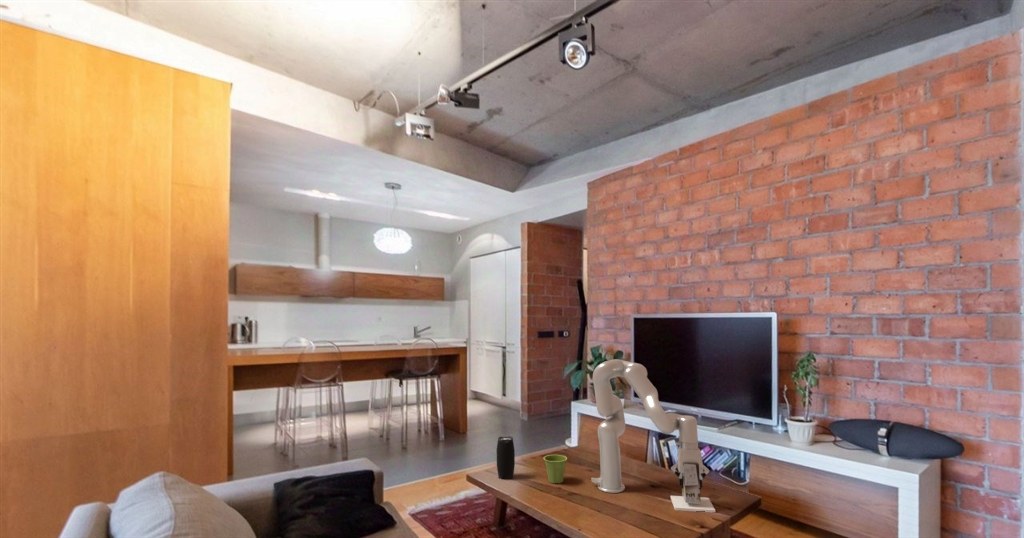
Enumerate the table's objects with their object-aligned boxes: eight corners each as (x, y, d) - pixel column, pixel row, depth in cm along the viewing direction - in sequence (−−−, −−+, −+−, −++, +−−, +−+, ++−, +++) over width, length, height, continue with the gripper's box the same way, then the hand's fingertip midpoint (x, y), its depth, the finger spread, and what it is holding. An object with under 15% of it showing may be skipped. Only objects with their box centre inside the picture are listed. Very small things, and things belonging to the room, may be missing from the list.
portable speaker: (493, 476, 235) (493, 437, 237) (509, 472, 240) (508, 434, 242) (502, 481, 228) (502, 441, 230) (518, 477, 233) (517, 438, 235)
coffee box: (701, 504, 192) (699, 464, 193) (685, 503, 193) (683, 463, 195) (697, 495, 201) (695, 457, 202) (681, 494, 202) (680, 457, 204)
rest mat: (674, 510, 192) (674, 507, 192) (670, 497, 204) (670, 495, 205) (715, 512, 189) (715, 510, 189) (708, 500, 201) (708, 497, 201)
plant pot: (571, 479, 229) (571, 456, 230) (561, 487, 219) (560, 463, 220) (550, 475, 235) (550, 453, 236) (539, 482, 225) (539, 459, 226)
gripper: (669, 446, 197) (671, 489, 195) (711, 448, 194) (714, 492, 192) (666, 442, 205) (668, 483, 203) (707, 443, 201) (710, 486, 199)
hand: (690, 487), depth 197 cm, fingers closed on coffee box, 6 cm apart
